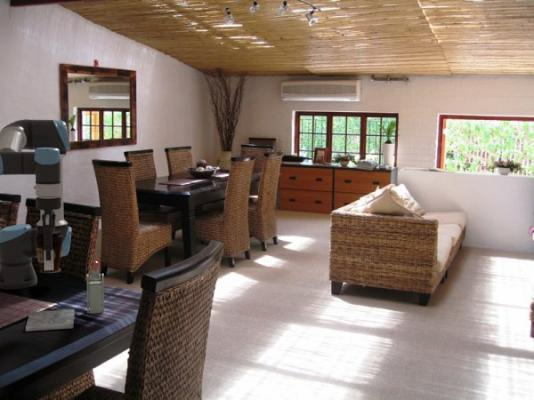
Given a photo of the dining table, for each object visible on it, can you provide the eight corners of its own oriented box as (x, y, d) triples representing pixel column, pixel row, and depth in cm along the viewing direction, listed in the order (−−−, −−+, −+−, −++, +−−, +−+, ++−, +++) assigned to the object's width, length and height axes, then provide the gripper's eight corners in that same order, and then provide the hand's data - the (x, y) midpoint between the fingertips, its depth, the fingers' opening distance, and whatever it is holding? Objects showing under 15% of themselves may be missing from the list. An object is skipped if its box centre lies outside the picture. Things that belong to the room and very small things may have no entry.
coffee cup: (54, 275, 183) (53, 235, 181) (30, 273, 185) (29, 233, 183) (68, 268, 192) (68, 230, 190) (46, 266, 193) (45, 228, 191)
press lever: (89, 283, 200) (89, 275, 202) (100, 282, 201) (100, 274, 203) (89, 268, 188) (89, 260, 189) (100, 268, 189) (100, 259, 190)
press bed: (30, 316, 195) (30, 311, 195) (74, 313, 199) (74, 309, 199) (25, 331, 182) (25, 326, 182) (72, 328, 186) (72, 323, 186)
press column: (87, 309, 203) (86, 273, 201) (103, 308, 205) (103, 273, 203) (87, 313, 199) (86, 277, 198) (104, 312, 201) (103, 276, 199)
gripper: (38, 192, 193) (40, 259, 196) (32, 201, 174) (34, 275, 177) (62, 192, 195) (63, 258, 199) (59, 201, 176) (60, 274, 179)
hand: (49, 266), depth 188 cm, fingers closed on coffee cup, 7 cm apart
